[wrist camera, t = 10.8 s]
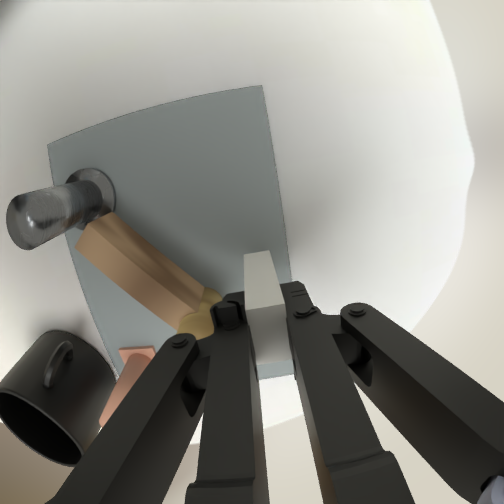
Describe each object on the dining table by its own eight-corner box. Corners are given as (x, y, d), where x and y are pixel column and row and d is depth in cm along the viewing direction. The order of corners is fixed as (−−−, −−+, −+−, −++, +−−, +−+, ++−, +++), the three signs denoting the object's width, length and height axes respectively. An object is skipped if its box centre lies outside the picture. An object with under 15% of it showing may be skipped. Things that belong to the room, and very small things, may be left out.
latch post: (121, 345, 23) (85, 410, 15) (154, 342, 23) (126, 413, 15) (134, 373, 24) (106, 439, 16) (166, 372, 24) (145, 442, 16)
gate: (97, 235, 18) (63, 256, 14) (114, 207, 18) (81, 223, 13) (208, 324, 20) (201, 364, 16) (230, 301, 20) (228, 339, 16)
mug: (135, 343, 23) (97, 422, 14) (107, 415, 26) (81, 478, 17) (44, 289, 21) (-18, 344, 12) (35, 372, 24) (-3, 425, 15)
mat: (50, 144, 17) (47, 144, 17) (261, 86, 17) (261, 85, 17) (127, 386, 24) (126, 389, 24) (300, 369, 24) (301, 372, 23)
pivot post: (63, 176, 18) (-10, 192, 11) (112, 160, 18) (44, 166, 11) (76, 232, 20) (10, 270, 12) (124, 221, 19) (65, 258, 12)
